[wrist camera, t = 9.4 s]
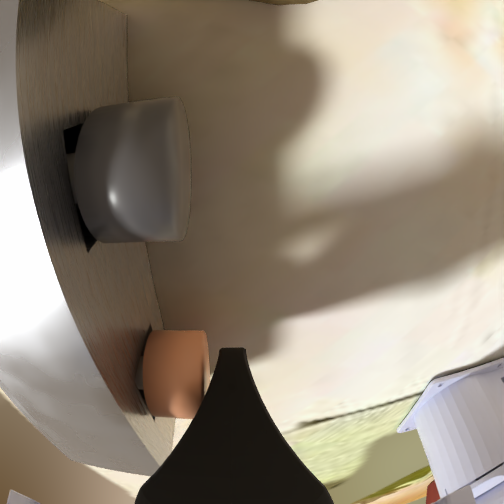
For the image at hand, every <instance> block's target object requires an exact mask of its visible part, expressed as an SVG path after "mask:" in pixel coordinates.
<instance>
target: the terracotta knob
mask: <svg viewBox="0 0 504 504" xmlns="http://www.w3.org/2000/svg"><path fill="white" fill-rule="evenodd" d="M134 381H135V384H136V386H137V388H138V389H143V390H144V395H145V400H146V404H147V407H148V409H149V411H150V413H151V414H152V415H153V416H154V417H165V418H181V419H193V418H194V417H195V415H196V413H197V411H198V409H199V407H200V405H201V403H202V401H203V398H204V396H205V394H206V392H207V389H208V387H209V384H210V364H209V350H208V342H207V336H206V333H205V331H177V330H153V331H152V332H151V333H150V335H149V337H148V339H147V342H146V346H145V350H144V356H141V357H140V361H139V365H138V368H137V372H136V376H135V380H134Z"/></svg>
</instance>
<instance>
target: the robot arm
mask: <svg viewBox="0 0 504 504" xmlns="http://www.w3.org/2000/svg"><path fill="white" fill-rule="evenodd" d="M416 428H417V431H418V434H419V436H420V439H421V442H422V444H423V447H424V450H425V453H426V456H427V459H428V461H429V465H430V467H431V470H432V473H433V477H434V480H435V483H436V486H437V489H438V492H439V496H440V499H439V500H437V501H436V502H434V503H431V504H504V358H501V359H498V360H495V361H493V362H490V363H487V364H484V365H481V366H478V367H475V368H472V369H468V370H465V371H462V372H458V373H455V374H452V375H448V376H444V377H441V378H437V379H434V380H433V381H431V382H430V383H429V385H428V386H427V388H426V389H425V391H424V392H423V394H422V395H421V397H420V398H419V400H418V401H417V402H416V404H415V405H414V407H413V408H412V409H411V411H410V412H409V413H408V415H407V416H406V418H405V419H404V420H403V421H402V423H401V424H400V425H399V427H398V428H397V432H398V433H402V432H406V431H409V430H413V429H416ZM7 504H40V503H38V502H36V501H35V500H33V499H31V498H29V497H26V496H24V495H22V494H20V493H18V492H15V491H14V490H10V493H9V497H8V501H7ZM135 504H334V503H333V500H332V499H331V496H330V494H329V493H328V491H327V489H326V487H325V486H324V485H323V484H322V483H321V482H320V481H319V480H318V479H317V478H316V477H315V476H314V475H313V474H312V473H311V471H310V470H309V469H308V468H307V467H306V466H305V465H304V464H303V462H302V461H301V460H300V459H299V457H298V456H297V455H296V454H295V452H294V451H293V450H292V448H291V447H290V446H289V444H288V443H287V442H286V440H285V439H284V437H283V436H282V434H281V433H280V431H279V430H278V428H277V426H276V425H275V423H274V421H273V420H272V418H271V416H270V414H269V413H268V411H267V409H266V407H265V405H264V403H263V401H262V399H261V397H260V394H259V392H258V390H257V387H256V385H255V382H254V380H253V377H252V374H251V371H250V368H249V364H248V360H247V355H246V349H244V348H221V349H220V351H219V356H218V361H217V364H216V368H215V371H214V374H213V377H212V379H211V382H210V384H209V387H208V389H207V392H206V394H205V396H204V398H203V401H202V403H201V405H200V407H199V409H198V411H197V413H196V415H195V417H194V418H193V420H192V422H191V424H190V425H189V427H188V429H187V430H186V432H185V434H184V435H183V437H182V438H181V440H180V441H179V443H178V444H177V445H176V447H175V448H174V450H173V451H172V452H171V454H170V455H169V456H168V457H167V459H166V460H165V461H164V462H163V464H162V465H161V466H160V467H159V468H158V470H157V471H156V472H155V473H154V474H153V475H152V476H151V477H150V478H149V479H148V480H147V481H146V482H145V483H144V484H143V485H142V487H141V488H140V490H139V492H138V495H137V497H136V500H135Z"/></svg>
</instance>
